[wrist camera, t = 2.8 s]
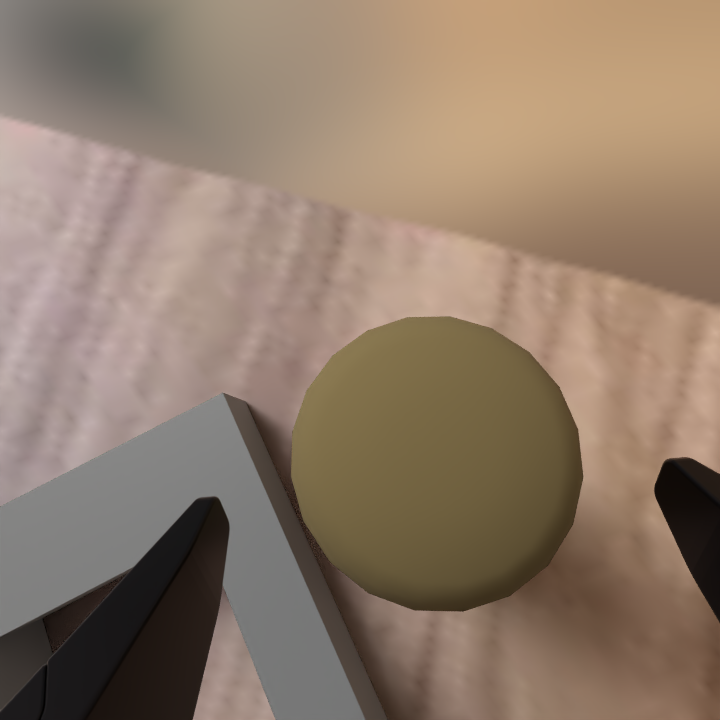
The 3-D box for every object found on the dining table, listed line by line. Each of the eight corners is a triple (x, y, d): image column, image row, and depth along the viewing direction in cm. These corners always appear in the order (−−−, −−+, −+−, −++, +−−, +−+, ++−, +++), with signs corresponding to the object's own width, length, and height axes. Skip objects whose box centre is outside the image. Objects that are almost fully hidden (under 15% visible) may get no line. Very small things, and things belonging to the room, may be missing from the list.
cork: (503, 522, 16) (711, 647, 6) (345, 547, 17) (263, 713, 6) (469, 367, 18) (586, 235, 7) (323, 392, 18) (224, 300, 7)
